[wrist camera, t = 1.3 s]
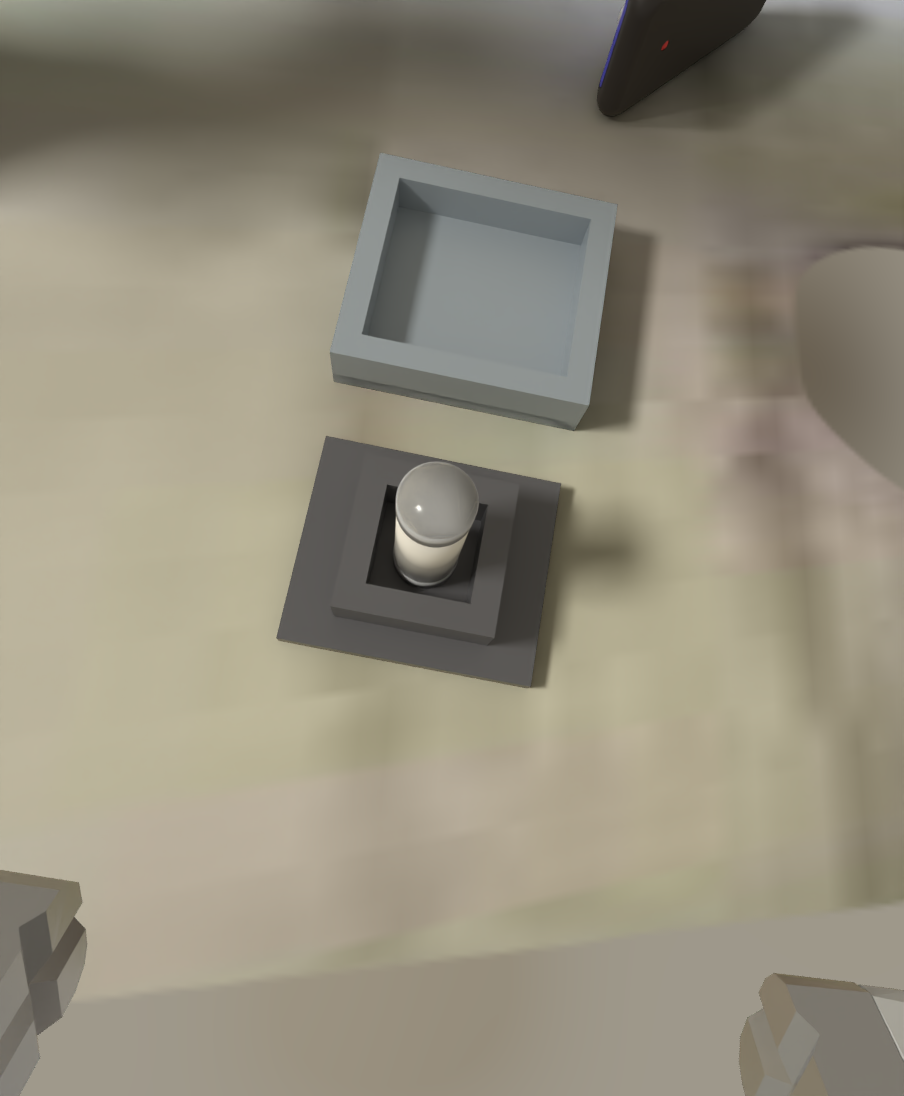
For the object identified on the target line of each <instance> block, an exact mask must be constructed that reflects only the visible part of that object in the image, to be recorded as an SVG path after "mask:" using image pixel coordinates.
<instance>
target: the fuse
mask: <svg viewBox="0 0 904 1096" xmlns="http://www.w3.org/2000/svg"><path fill="white" fill-rule="evenodd" d="M478 506H479V498H478V492H477V489H476V487H475V484H474V483H473V481H472V479H471V478H470V477H469V476H468V475H467V474H466V473H465V472H464V471H463V470H461V469H460V468H458V467H456V466H455V465H452V464H449V463H445V462H427V463H423V464H421V465H418V466H416V467H415V468H413V469H412V470H410V471H409V472H408V473H407V474H406V475H405V476H404V477H403V479H402V480H401V482H400V484H399V486H398V490H397V494H396V527H395V543H394V548H393V563H394V567H395V569H396V571H397V573H398V575H399V576H400V577H401V578H402V579H403V580H404V581H405V582H406V583H408V584H409V585H411V586H414V587H417V588H423V589H428V588H434V587H437V586H439V585H441V584H443V583H444V582H446V581H447V580H448V579H449V578H450V576H451V575H452V574H453V572H454V570H455V567H456V565H457V562H458V558H459V555H460V552H461V550H462V547H463V544H464V542H465V539H466V537H467V534H468V532H469V530H470V529H471V527H472V525H473V522H474V520H475V517H476V515H477V511H478Z"/></svg>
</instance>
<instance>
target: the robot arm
mask: <svg viewBox="0 0 904 1096" xmlns="http://www.w3.org/2000/svg"><path fill="white" fill-rule="evenodd" d="M81 904H82V897H81V891H80V886H79V882H73V881H67V880H61V879H54V878H48V877H42V876H36V875H29V874H23V873H17V872H11V871H5V870H0V1096H19V1095H20V1094H21V1091H22V1090H23V1088H24V1086H25V1084H26V1083H27V1081H28V1079H29V1077H30V1075H31V1073H32V1071H33V1070H34V1068H35V1066H36V1064H37V1062H38V1061H39V1059H40V1054H39V1046H38V1038H37V1035H39V1034H40V1033H41V1032H43V1031H44V1030H45V1029H47V1028H48V1027H49V1026H51V1025H52V1024H54V1023H55V1022H56V1021H58V1020H59V1019H60V1018H62V1016H63V1014H64V1012H65V1011H66V1009H67V1007H68V1005H69V1003H70V1001H71V999H72V997H73V995H74V993H75V991H76V988H77V985H78V982H79V979H80V976H81V973H82V970H83V967H84V964H85V958H86V949H87V937H86V929H85V928H84V927H83V926H82V925H81V924H80V923H79V922H78V921H77V920H76V918H75V917H74V916H75V914H76V913H77V911H78V909H79V907H80V906H81ZM759 996H760V999H761V1002H762V1005H763V1009H761V1010H759V1011H758V1012H756V1013H754V1014H753V1015H751V1016H749V1017H748V1018H747V1020H746V1023H745V1025H744V1028H743V1031H742V1033H741V1036H740V1051H739V1052H740V1053H739V1065H740V1072H741V1080H742V1085H743V1089H744V1092H745V1096H904V990H898V989H892V988H884V987H875V986H867V985H857V984H855V983H853V982H845V981H836V980H828V979H820V978H811V977H803V976H794V975H786V974H777V973H773V974H772V975H770V976H768V977H767V978H765V980H764V982H763V985H762V986H761V989H760V991H759Z"/></svg>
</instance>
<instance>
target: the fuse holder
mask: <svg viewBox="0 0 904 1096" xmlns="http://www.w3.org/2000/svg"><path fill="white" fill-rule="evenodd" d="M427 462H445V463H449V464H452V465H455V466H456V467H458V468H460V469H461V470H463V471H464V472H465V473H466V474H467V475H468V476H469V477H470V478H471V479H472V481H473V483H474V484H475V487H476V489H477V492H478V498H479V506H478V511H477V515H476V517H475V520H474V522H473V525H472V527H471V529H470V530H469V532H468V534H467V537H466V539H465V542H464V544H463V547H462V550H461V552H460V555H459V558H458V562H457V565H456V567H455V570H454V572H453V574H452V575H451V576H450V578H449V579H448V580H447V581H446V582H444V583H443V584H441V585H439V586H437V587H434V588H428V589H423V588H417V587H414V586H411V585H409V584H408V583H406V582H405V581H404V580H403V579H402V578H401V577H400V576H399V575H398V573H397V571H396V569H395V567H394V563H393V548H394V543H395V527H396V494H397V490H398V486H399V484H400V482H401V480H402V479H403V477H404V476H405V475H406V474H407V473H408V472H409V471H410V470H412V469H413V468H415V467H416V466H418V465H421V464H423V463H427ZM560 486H561V483H556V482H551V481H546V480H541V479H536V478H531V477H526V476H521V475H516V474H511V473H506V472H501V471H497V470H492V469H487V468H482V467H477V466H472V465H467V464H462V463H457V462H452V461H447V460H442V459H437V458H432V457H427V456H423V455H418V454H413V453H408V452H403V451H398V450H393V449H388V448H383V447H378V446H373V445H368V444H363V443H358V442H353V441H349V440H344V439H339V438H334V437H329V436H326V438H325V442H324V446H323V451H322V455H321V459H320V463H319V467H318V471H317V475H316V479H315V483H314V487H313V491H312V495H311V499H310V503H309V507H308V511H307V516H306V520H305V524H304V528H303V532H302V536H301V540H300V544H299V548H298V552H297V556H296V560H295V564H294V568H293V572H292V577H291V581H290V585H289V589H288V593H287V597H286V601H285V605H284V609H283V613H282V617H281V621H280V625H279V629H278V633H277V637H276V638H277V639H278V640H279V641H283V642H288V643H294V644H299V645H304V646H309V647H314V648H320V649H325V650H330V651H335V652H341V653H346V654H351V655H356V656H361V657H367V658H372V659H377V660H382V661H388V662H393V663H398V664H403V665H408V666H414V667H419V668H424V669H429V670H435V671H440V672H445V673H450V674H455V675H461V676H466V677H471V678H476V679H482V680H487V681H492V682H497V683H503V684H508V685H513V686H518V687H523V688H529V687H531V681H532V674H533V668H534V661H535V654H536V647H537V641H538V634H539V627H540V621H541V614H542V607H543V600H544V594H545V587H546V580H547V573H548V567H549V560H550V553H551V546H552V540H553V533H554V526H555V519H556V513H557V506H558V499H559V493H560Z"/></svg>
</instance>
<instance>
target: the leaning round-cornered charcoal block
mask: <svg viewBox="0 0 904 1096" xmlns="http://www.w3.org/2000/svg"><path fill="white" fill-rule="evenodd" d="M765 1H766V0H626V3H625V5H624V6H623V7H622V8H621V11H620V14H619V17H618V27H617V30H616V34H615V37H614V40H613V43H612V46H611V49H610V52H609V55H608V58H607V61H606V64H605V68H604V71H603V74H602V77H601V80H600V83H599V87H598V93H597V103H598V107H599V109H600V111H601V112H602V113H603V114H605V115H608V116H613V115H617V114H620V113H622V112H624V111H625V110H627V109H628V108H629V107H631V106H632V105H634V104H635V103H637V102H638V101H640V100H641V99H643V98H644V97H646V96H647V95H648V94H650V93H651V92H653V91H654V90H656V89H657V88H659V87H660V86H662V85H663V84H664V83H666V82H667V81H669V80H670V79H672V78H673V77H675V76H676V75H678V74H679V73H681V72H682V71H683V70H685V69H686V68H688V67H689V66H691V65H692V64H694V63H695V62H697V61H698V60H699V59H701V58H702V57H704V56H705V55H707V54H708V53H710V52H711V51H713V50H714V49H716V48H717V47H718V46H720V45H721V44H723V43H724V42H726V41H727V40H729V39H730V38H732V37H733V36H735V35H736V34H737V33H739V32H740V31H742V30H743V29H745V28H746V27H747V26H748V25H749V24H750V23H751V22H752V21H753V20H754V19H755V18H756V17H757V15H758V14H759V13H760V11H761V9H762V7H763V5H764V3H765Z"/></svg>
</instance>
